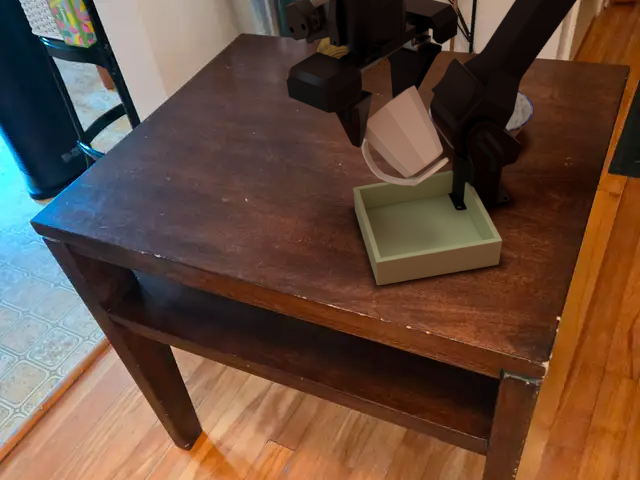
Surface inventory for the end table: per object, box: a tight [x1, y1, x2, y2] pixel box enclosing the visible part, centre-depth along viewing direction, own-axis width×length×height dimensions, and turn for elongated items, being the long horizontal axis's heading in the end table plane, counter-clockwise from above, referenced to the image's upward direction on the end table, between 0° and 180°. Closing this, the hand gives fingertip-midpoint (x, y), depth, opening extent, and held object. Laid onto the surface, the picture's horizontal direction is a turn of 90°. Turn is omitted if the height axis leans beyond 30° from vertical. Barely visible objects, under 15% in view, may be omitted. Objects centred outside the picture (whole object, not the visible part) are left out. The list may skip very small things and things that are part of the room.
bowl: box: [427, 90, 535, 150], centre depth 78 cm, size 13×13×5 cm
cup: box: [361, 86, 449, 186], centre depth 62 cm, size 7×10×8 cm
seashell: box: [316, 37, 348, 58], centre depth 97 cm, size 10×7×8 cm
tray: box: [353, 170, 503, 286], centre depth 67 cm, size 13×13×3 cm
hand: (378, 130), depth 63 cm, fingers closed on cup, 6 cm apart
